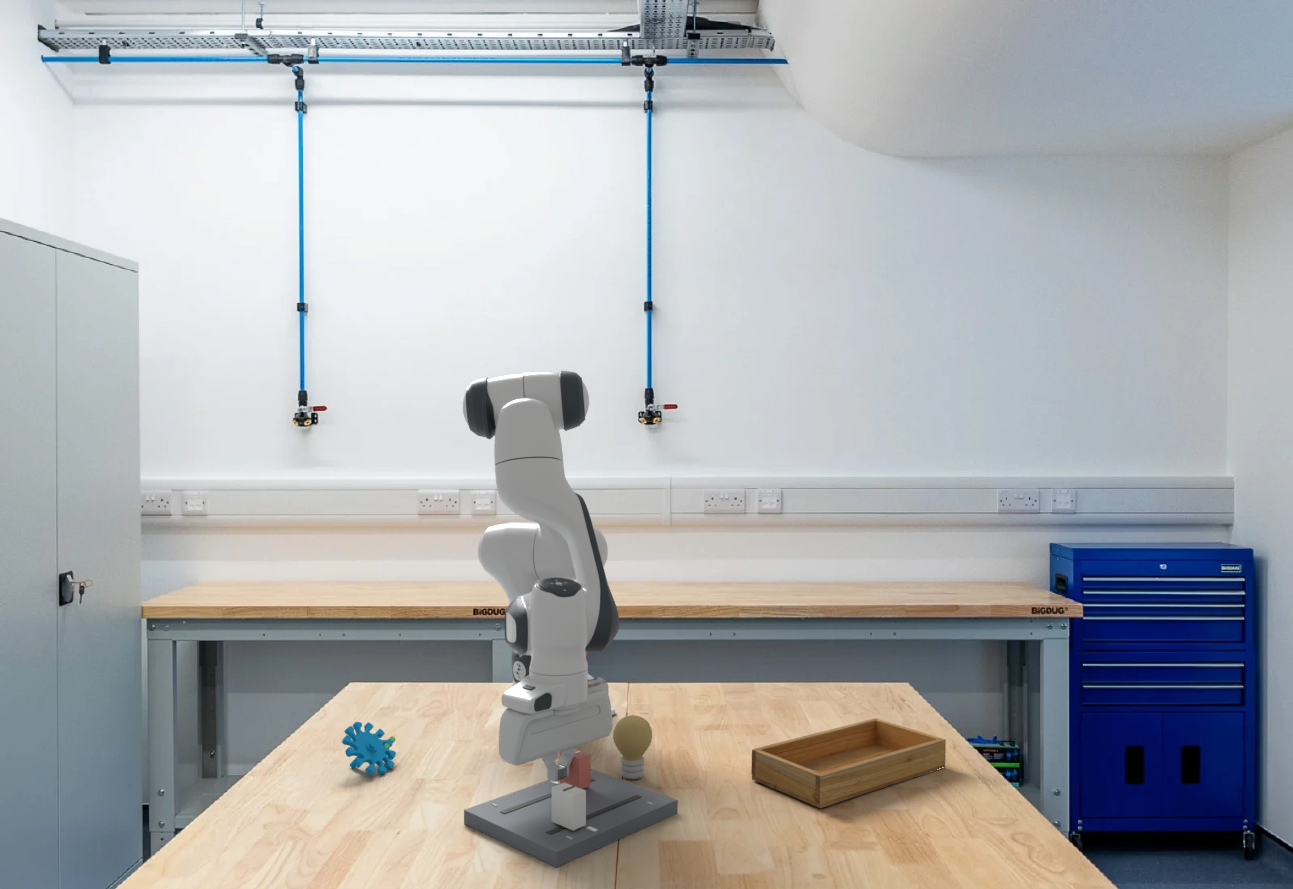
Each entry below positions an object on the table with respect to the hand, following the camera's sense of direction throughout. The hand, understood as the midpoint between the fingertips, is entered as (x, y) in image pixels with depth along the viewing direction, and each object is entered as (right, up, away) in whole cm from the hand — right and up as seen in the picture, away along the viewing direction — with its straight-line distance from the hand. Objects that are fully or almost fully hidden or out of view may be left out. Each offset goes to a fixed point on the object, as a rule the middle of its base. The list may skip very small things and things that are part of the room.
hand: (558, 778), depth 142 cm
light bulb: (+11, -4, +12) cm, 17 cm away
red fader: (+2, -2, +2) cm, 4 cm away
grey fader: (+3, -2, -12) cm, 12 cm away
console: (+3, -4, -5) cm, 7 cm away
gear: (-33, -4, +15) cm, 37 cm away
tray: (+47, -5, +13) cm, 49 cm away
